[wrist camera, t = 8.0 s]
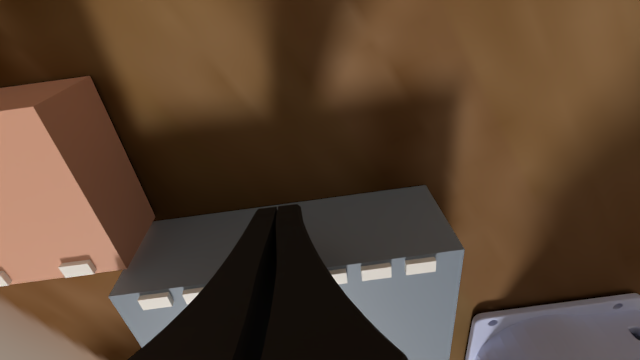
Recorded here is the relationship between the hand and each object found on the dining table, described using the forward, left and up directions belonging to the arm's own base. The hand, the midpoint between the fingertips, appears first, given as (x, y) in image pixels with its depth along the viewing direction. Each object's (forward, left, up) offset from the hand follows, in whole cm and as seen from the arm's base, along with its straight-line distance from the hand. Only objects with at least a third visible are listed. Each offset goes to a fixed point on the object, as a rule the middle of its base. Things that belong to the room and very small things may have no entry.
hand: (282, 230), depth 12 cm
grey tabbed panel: (0, +7, -3) cm, 8 cm away
